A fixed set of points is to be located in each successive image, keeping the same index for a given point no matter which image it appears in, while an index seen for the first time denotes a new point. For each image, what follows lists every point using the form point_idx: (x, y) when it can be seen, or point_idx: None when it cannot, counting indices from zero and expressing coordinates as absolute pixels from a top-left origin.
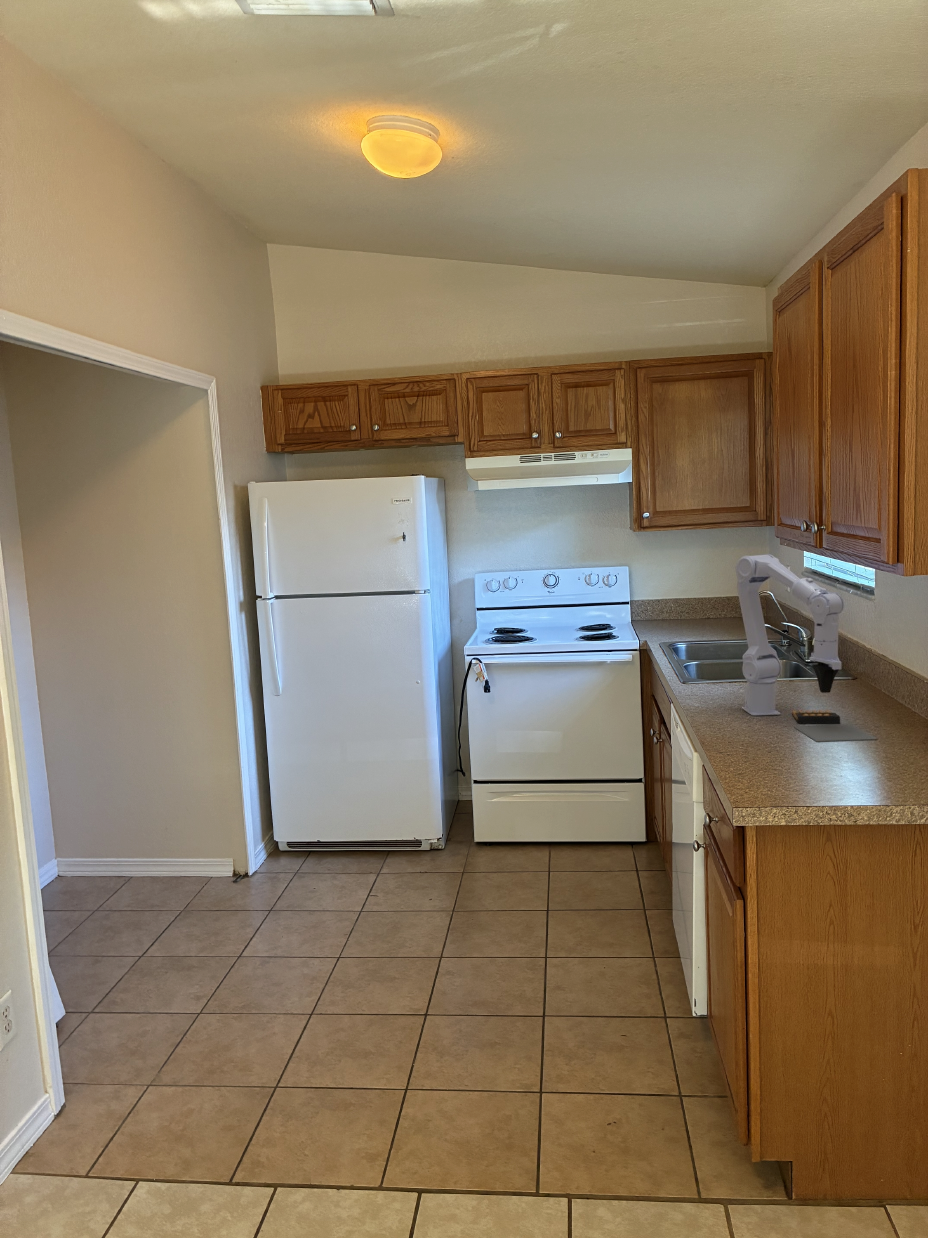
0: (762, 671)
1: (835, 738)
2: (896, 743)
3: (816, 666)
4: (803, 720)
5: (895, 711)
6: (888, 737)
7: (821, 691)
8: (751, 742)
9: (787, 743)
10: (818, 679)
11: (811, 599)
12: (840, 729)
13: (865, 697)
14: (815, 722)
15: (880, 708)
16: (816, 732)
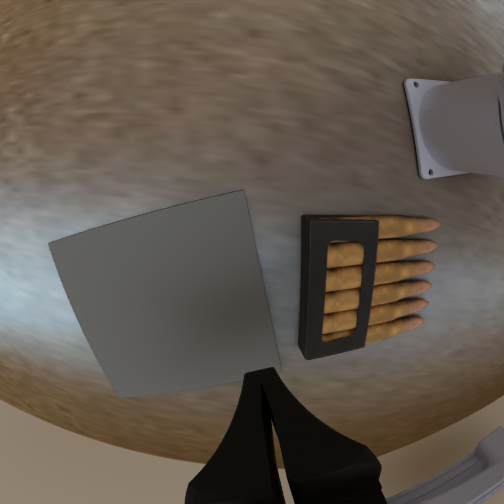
0: None
1: (88, 304)
2: (105, 418)
3: (237, 499)
4: (305, 237)
5: (399, 435)
6: (156, 420)
7: (252, 373)
8: (39, 49)
9: (28, 152)
10: (281, 412)
11: None
12: (208, 339)
13: (494, 381)
14: (302, 277)
15: (427, 413)
16: (152, 260)
